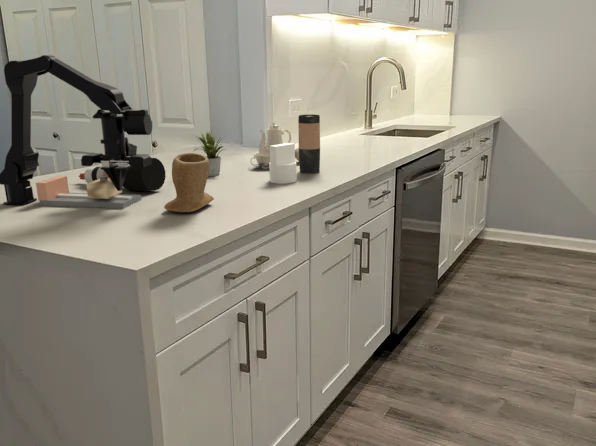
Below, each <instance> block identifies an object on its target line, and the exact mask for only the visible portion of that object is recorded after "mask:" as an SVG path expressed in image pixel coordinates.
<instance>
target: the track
mask: <svg viewBox="0 0 596 446" xmlns="http://www.w3.org/2000/svg"><path fill="white" fill-rule="evenodd" d="M68 181H69V180H68V176H67V175H56V176H53V177H50V178H47V179H43V180H40V181H37V182H35V186H36V193H37V199H38V201H39V206H45V207H46V206H47V207H48V206H49V207H51V206H52V207H74V208H75V207H76V208H96V207H103V208H102V209H122V208H124V209H126V208H128V207H130V206H131V204H132V205H134V204H136V203H138V202H140V201H142V195H141V194H126V193H125V194H124V193H123V194H121V193H119V194H117V195H115V196H112V197H110V198H108V199H105V198H88V194H87V192H70V188H69V182H68ZM139 200H140V201H139ZM137 201H138V202H137ZM135 202H136V203H135ZM133 203H134V204H133ZM129 205H130V206H129ZM127 206H128V207H127ZM104 207H105V208H104ZM125 207H126V208H125Z"/></svg>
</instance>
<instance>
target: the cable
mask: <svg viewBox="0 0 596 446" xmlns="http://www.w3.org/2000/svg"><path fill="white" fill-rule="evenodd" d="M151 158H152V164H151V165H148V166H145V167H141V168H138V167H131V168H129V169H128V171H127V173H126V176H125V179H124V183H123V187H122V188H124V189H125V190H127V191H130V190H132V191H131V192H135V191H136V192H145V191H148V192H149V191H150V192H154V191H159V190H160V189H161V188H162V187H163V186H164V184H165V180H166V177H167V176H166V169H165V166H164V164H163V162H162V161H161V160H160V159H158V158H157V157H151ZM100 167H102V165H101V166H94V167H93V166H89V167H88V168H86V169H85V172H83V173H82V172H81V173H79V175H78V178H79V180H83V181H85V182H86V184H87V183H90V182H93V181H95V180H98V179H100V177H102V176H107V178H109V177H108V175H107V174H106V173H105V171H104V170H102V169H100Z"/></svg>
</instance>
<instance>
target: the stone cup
mask: <svg viewBox="0 0 596 446" xmlns="http://www.w3.org/2000/svg"><path fill="white" fill-rule="evenodd" d="M206 156H207V155H205V154H202V153H196V152H195V153H194V152H187V153H186V152H185V153H180V154H177V156H175V157H174V158H173V161H172V164H171V176H172V177H171V178H172V182H173V185H174V189H175V193H176V198H174V199H173V200H170V201H169V202H166V204H165V205H164V206H163V208H164V210H167V211H169V212H174V213H192V212H195V211H197V210H199V209H202V208H204V207H205V206H206V205H209V203H211V202H212V201H213V200H214V199H215V198H214V196H212V195H210V194H209V193H207V192H205V189H206V185H207V182H208V178H209V176H208V175H209V160H208V158H207V157H206Z"/></svg>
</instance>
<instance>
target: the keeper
mask: <svg viewBox="0 0 596 446" xmlns="http://www.w3.org/2000/svg"><path fill="white" fill-rule="evenodd" d="M86 191H87V192H86V193H87V194H88V198H105V199H108V198H110V197H112V196H115V195H117V194H121V193H123V189H122V190H121V191H117V189H116V187H115V186H114V184H113V183H112V181H111V179H110V178H107V176H102V177H100V179H98V180H95V181H93V182H90V183H87V182H86Z"/></svg>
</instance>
